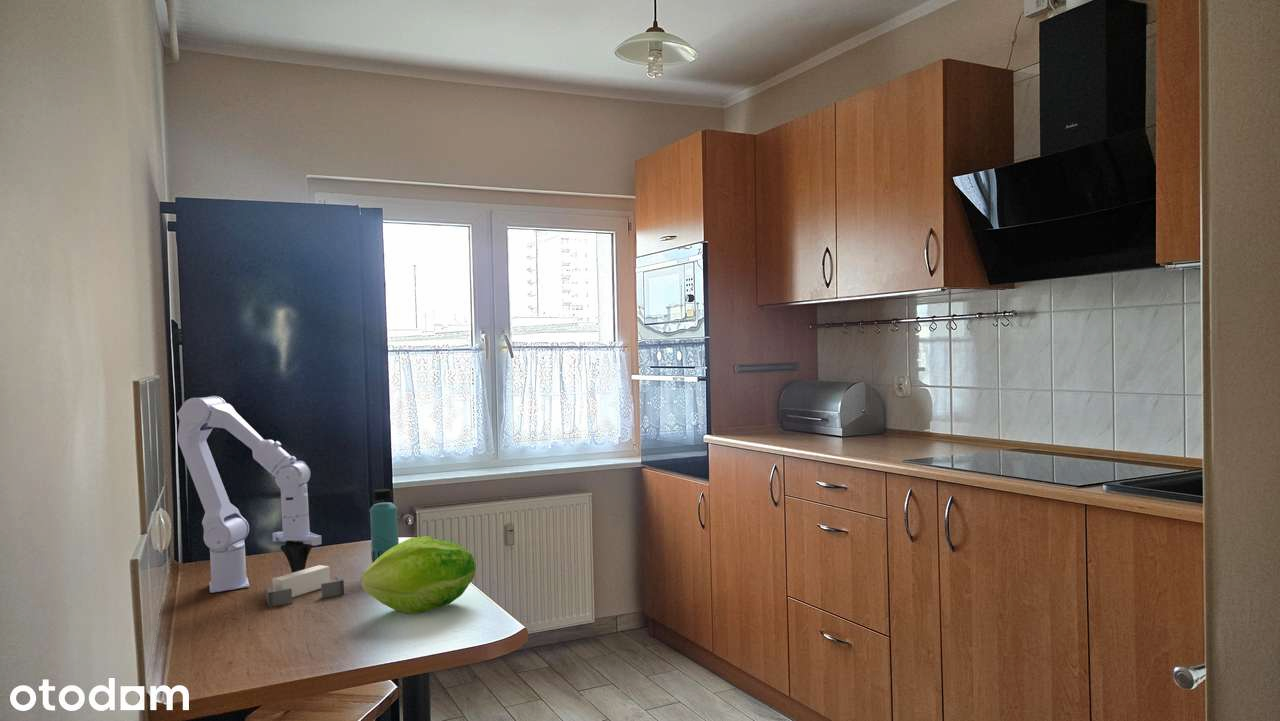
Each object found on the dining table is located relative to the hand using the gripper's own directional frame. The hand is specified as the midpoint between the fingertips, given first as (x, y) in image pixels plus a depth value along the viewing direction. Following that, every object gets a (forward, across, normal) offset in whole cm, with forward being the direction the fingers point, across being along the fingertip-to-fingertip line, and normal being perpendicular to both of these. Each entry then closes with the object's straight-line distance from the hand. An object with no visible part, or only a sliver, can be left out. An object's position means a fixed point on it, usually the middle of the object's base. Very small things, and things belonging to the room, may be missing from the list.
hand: (298, 574), depth 191 cm
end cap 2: (+2, +14, -3) cm, 14 cm away
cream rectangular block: (+2, +6, -4) cm, 8 cm away
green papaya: (+3, +42, -4) cm, 42 cm away
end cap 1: (+2, +8, -11) cm, 14 cm away
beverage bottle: (+2, +13, +14) cm, 19 cm away
